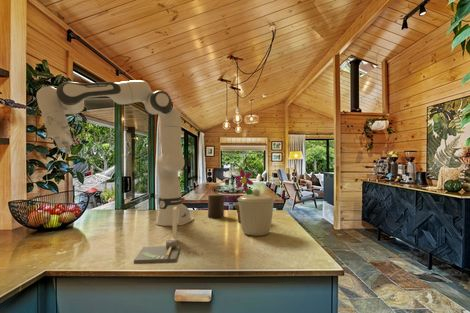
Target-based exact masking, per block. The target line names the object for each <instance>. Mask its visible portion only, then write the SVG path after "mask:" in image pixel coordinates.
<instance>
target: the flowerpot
mask: <svg viewBox="0 0 470 313" xmlns="http://www.w3.org/2000/svg"><path fill="white" fill-rule="evenodd" d="M239 173H240V176H239V175H234V179H235V181H239V182H238V183H237V184H236V188H237V189H240V188H241V187H243V191H245V192H246V195H250V194H253V190H252V189H249V188H248V185H249V186H253V185H254V182H253V181H252V180H250V179H249V178H250V177H252V176H251V175H252V172H251V171H250V172H247V173H246V174H245V171H244V170H243V169H240V172H239ZM234 208H235V209H236V213H237V222H238V224H241V219H240V210H239V202H236V203H235V204H234Z"/></svg>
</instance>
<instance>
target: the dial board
mask: <svg viewBox="0 0 470 313" xmlns="http://www.w3.org/2000/svg"><path fill="white" fill-rule="evenodd" d="M180 247H181V246H180V245H177V247H176V248H172V249H171V252H170V254H169V256H167V257H166V254H167V252H168V249H169V248H166V245H165V246H163V245H162V246H143V247H142V248H141V249H140V251H139V252H138V254H137V255H136V256H135V257H134V259H133V263H134V264H142V263H143V264H146V263H147V262H149V263H169V262H170V263H174V262H175V263H176V262H177V260H178V256H179V251H180V249H181V248H180Z"/></svg>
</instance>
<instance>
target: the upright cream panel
mask: <svg viewBox="0 0 470 313" xmlns="http://www.w3.org/2000/svg"><path fill="white" fill-rule="evenodd" d="M171 227H172V228H171V230H172V236H171V238H170V240H169V239H168V240H166V241H165V246H166V248H169V249H168V252H167V254H166V257H167V256H169V254H170V252H171V249H172V248H176V247H177V246H178V244H177V241H178V240H177V239H178V225H177V206H175V207H174V208H173V224H172V226H171Z"/></svg>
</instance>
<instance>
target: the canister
mask: <svg viewBox="0 0 470 313" xmlns="http://www.w3.org/2000/svg"><path fill="white" fill-rule="evenodd" d="M252 191H253V194H250V195H249V194H248V195H247V194H244V195H241V196H239V197H238V198H236V199H237V202H238V203H239V210H240V219H241V223H240V226H241V230H242V232H243V233H244V234H245V235H248V236H255V237H259V236H260V237H261V236H265V235H268V234H269V233H270V231H271V228H272V227H271V226H272V221H273V214H274V213H273V210H274V204H275V203H274V202H275V201H276V199H275V198H273V196H271V195H267V194H260V193H261V191H260V189H257V188H255V189H253V190H252Z"/></svg>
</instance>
